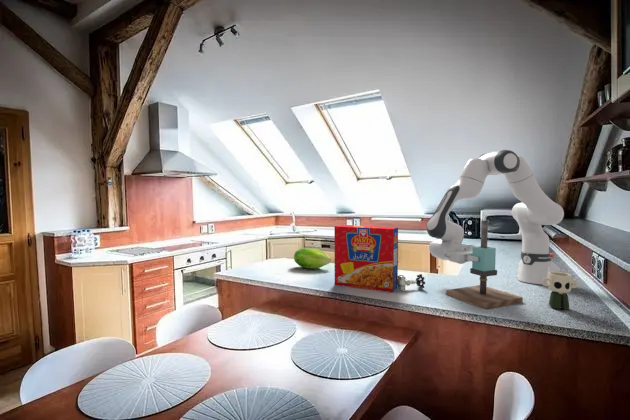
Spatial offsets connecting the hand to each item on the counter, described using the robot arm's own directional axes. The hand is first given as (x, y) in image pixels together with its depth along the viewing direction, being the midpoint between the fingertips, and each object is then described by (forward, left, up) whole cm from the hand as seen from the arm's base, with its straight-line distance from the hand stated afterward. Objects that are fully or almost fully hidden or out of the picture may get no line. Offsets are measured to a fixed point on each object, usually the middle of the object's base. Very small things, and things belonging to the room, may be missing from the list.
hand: (485, 258), depth 139 cm
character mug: (-16, +19, -17) cm, 30 cm away
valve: (+19, -24, -17) cm, 35 cm away
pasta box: (+35, -36, -17) cm, 53 cm away
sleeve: (0, -1, -5) cm, 5 cm away
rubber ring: (0, -1, -7) cm, 7 cm away
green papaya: (+43, -81, -17) cm, 94 cm away
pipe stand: (0, -1, -17) cm, 17 cm away
